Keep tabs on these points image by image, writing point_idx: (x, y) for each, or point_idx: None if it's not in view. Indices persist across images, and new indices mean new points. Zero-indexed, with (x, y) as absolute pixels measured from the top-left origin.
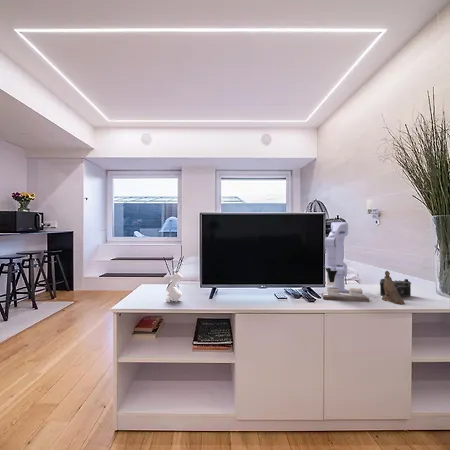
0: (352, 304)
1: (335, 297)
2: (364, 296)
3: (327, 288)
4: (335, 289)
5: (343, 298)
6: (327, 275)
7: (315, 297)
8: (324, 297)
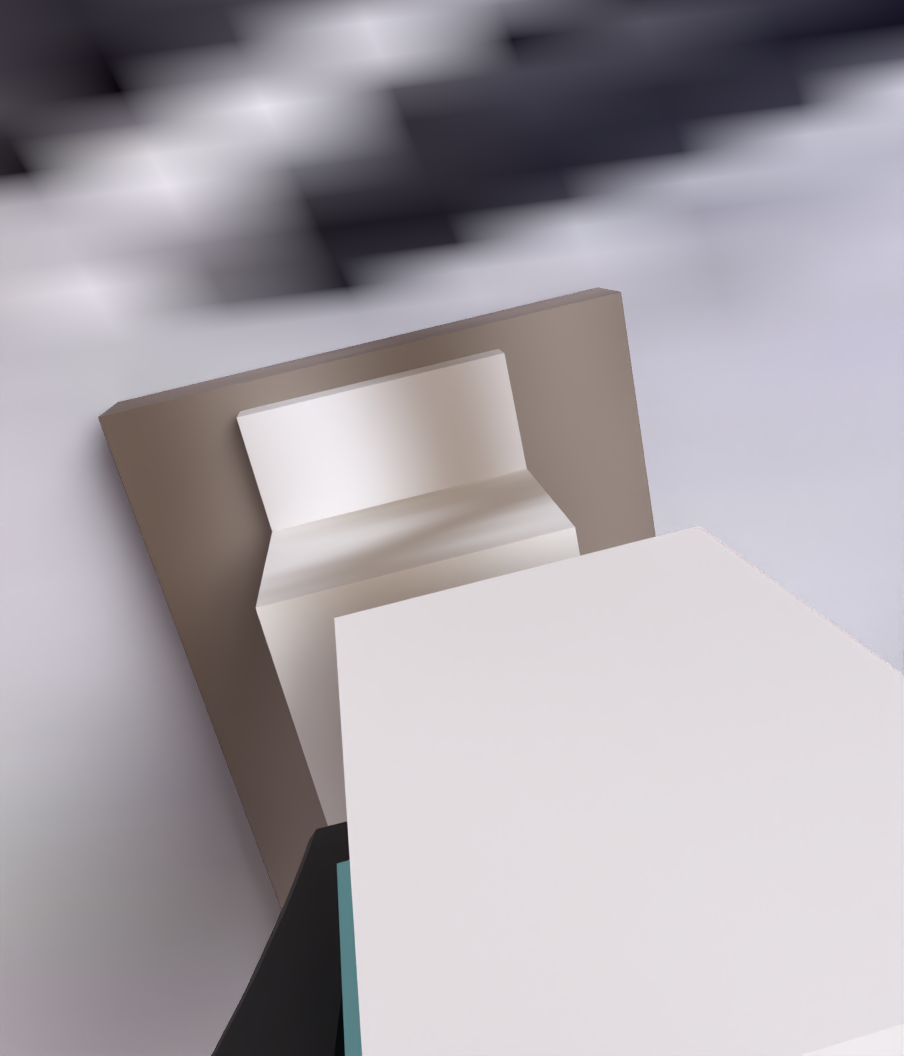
0: (22, 1004)
1: (211, 714)
2: None
3: (357, 579)
4: (328, 820)
5: (269, 859)
6: (364, 1007)
7: (261, 147)
8: (113, 446)
